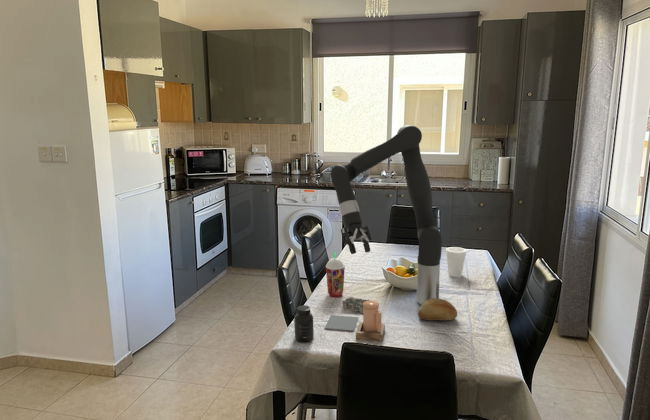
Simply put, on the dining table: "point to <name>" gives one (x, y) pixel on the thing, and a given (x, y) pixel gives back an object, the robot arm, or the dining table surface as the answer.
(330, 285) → the smoothie
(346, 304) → the egg carton
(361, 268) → the dining table surface
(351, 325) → the slate mat
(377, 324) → the peach column
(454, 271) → the foam cup
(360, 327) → the walnut collar
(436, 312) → the bread roll
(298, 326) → the supplement bottle
